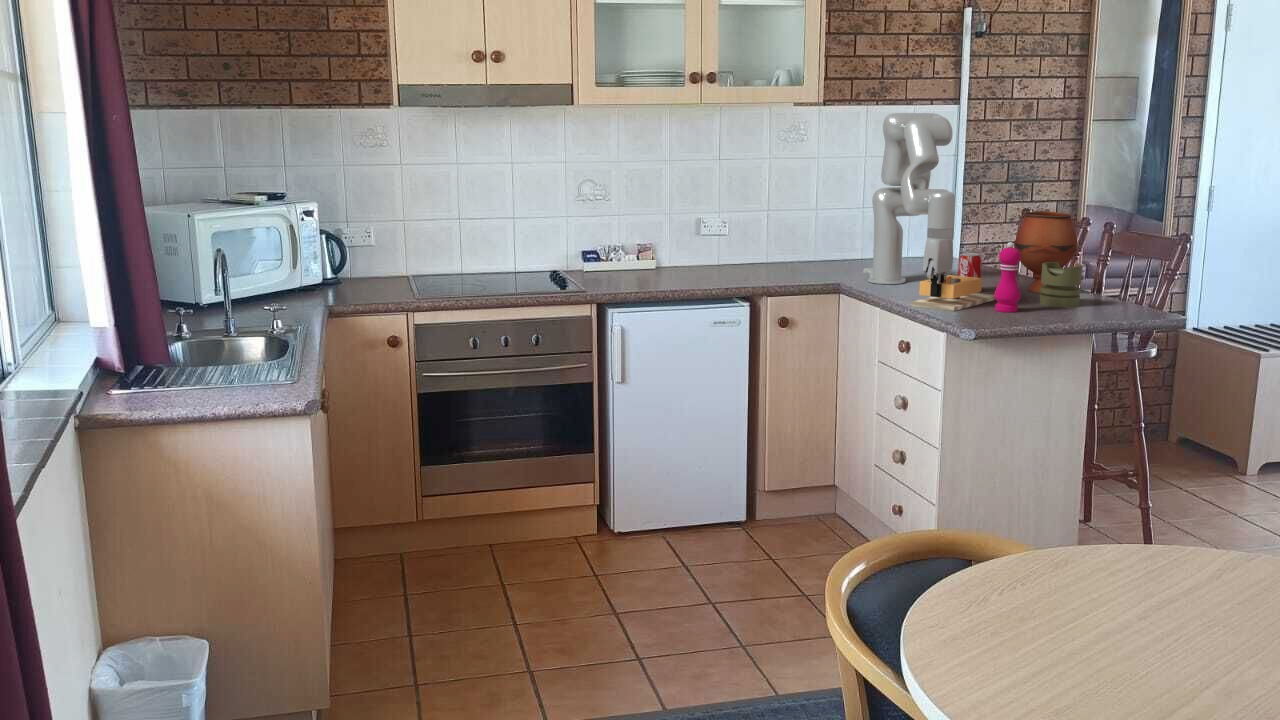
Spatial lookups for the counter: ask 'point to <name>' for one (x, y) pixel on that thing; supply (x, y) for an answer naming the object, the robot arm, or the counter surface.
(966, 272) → the soda can
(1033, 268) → the goblet
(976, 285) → the yellow open tray
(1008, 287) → the pepper mill
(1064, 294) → the piston
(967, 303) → the board
